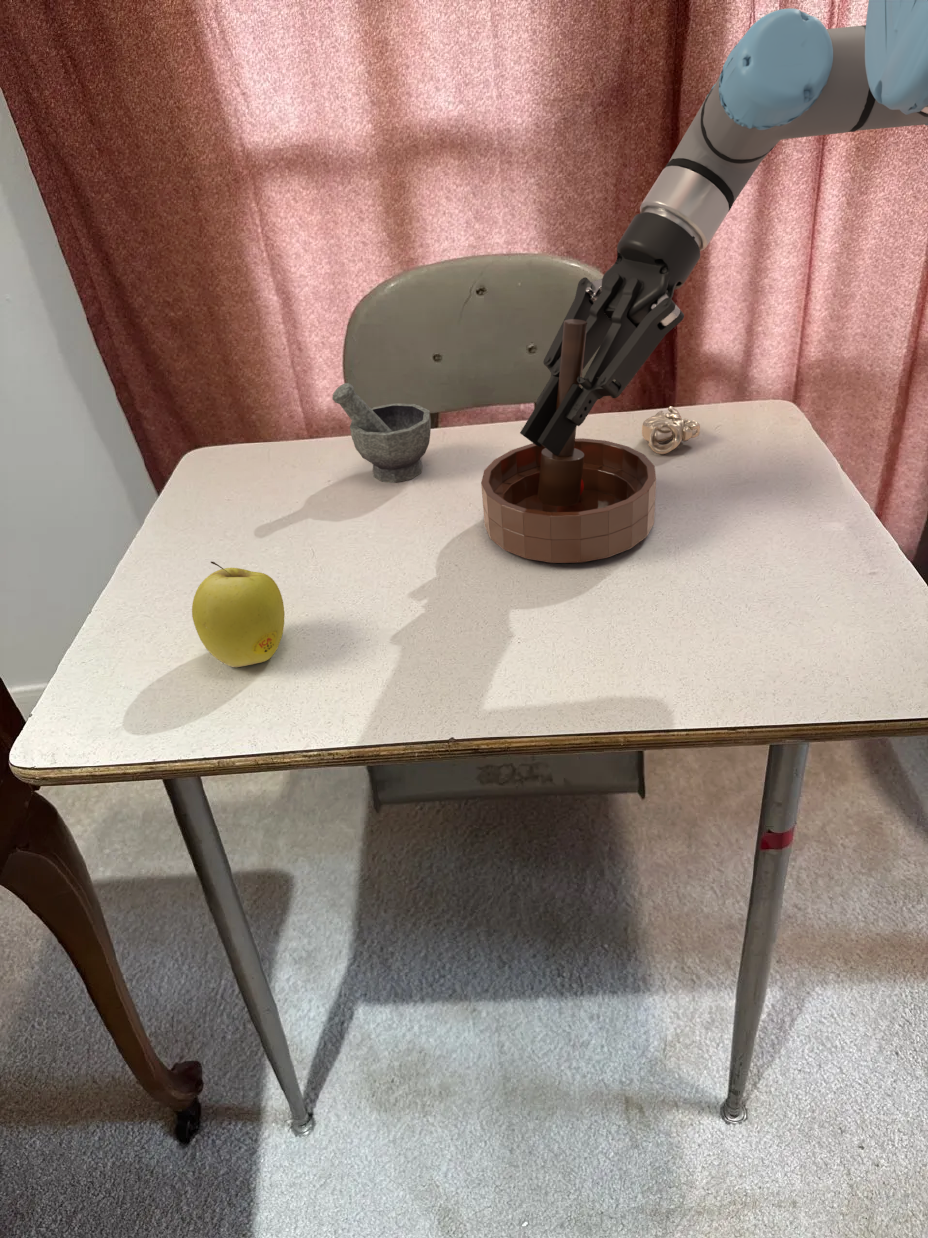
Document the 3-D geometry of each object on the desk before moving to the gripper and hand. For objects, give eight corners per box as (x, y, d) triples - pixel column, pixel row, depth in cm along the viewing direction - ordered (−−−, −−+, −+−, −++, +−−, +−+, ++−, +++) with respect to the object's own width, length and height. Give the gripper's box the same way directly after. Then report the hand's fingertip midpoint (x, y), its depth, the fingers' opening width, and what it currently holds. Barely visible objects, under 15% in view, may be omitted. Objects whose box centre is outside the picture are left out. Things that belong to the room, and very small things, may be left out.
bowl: (658, 568, 81) (661, 514, 77) (477, 570, 83) (472, 517, 80) (648, 485, 95) (650, 435, 91) (494, 489, 98) (490, 441, 94)
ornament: (699, 456, 99) (701, 427, 97) (640, 456, 101) (641, 428, 99) (698, 429, 106) (700, 401, 104) (642, 429, 107) (643, 402, 105)
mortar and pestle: (426, 448, 108) (414, 357, 102) (446, 477, 101) (435, 380, 94) (341, 467, 106) (323, 374, 99) (355, 497, 99) (337, 400, 92)
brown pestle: (583, 506, 87) (604, 326, 78) (541, 506, 86) (557, 326, 77) (574, 490, 91) (592, 316, 81) (534, 490, 90) (548, 316, 81)
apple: (231, 689, 70) (186, 579, 66) (204, 669, 76) (163, 568, 73) (315, 650, 73) (277, 544, 70) (283, 634, 80) (246, 536, 77)
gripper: (748, 267, 78) (609, 485, 81) (635, 246, 89) (516, 439, 92) (712, 216, 73) (565, 450, 76) (596, 200, 84) (472, 406, 86)
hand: (539, 444), depth 84 cm, fingers closed on brown pestle, 2 cm apart
